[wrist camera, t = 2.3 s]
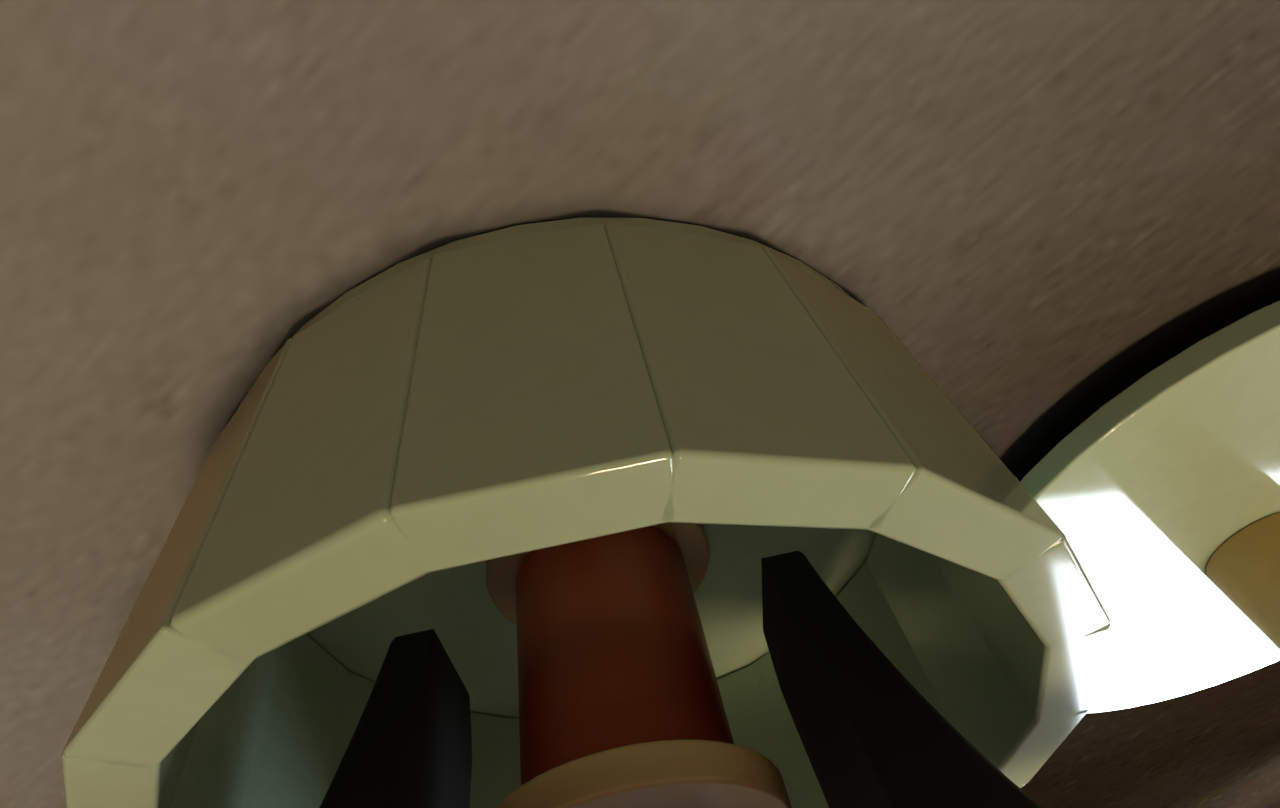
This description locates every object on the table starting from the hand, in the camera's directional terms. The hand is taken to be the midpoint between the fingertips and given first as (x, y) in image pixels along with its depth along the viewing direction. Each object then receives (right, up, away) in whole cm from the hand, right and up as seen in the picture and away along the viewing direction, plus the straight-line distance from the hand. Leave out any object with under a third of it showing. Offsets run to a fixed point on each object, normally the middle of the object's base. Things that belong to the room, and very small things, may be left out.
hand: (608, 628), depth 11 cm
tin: (0, +1, +2) cm, 2 cm away
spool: (0, +1, +1) cm, 2 cm away
